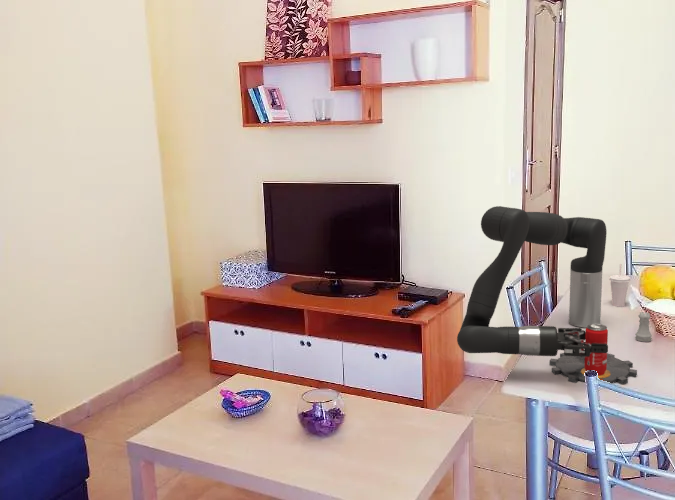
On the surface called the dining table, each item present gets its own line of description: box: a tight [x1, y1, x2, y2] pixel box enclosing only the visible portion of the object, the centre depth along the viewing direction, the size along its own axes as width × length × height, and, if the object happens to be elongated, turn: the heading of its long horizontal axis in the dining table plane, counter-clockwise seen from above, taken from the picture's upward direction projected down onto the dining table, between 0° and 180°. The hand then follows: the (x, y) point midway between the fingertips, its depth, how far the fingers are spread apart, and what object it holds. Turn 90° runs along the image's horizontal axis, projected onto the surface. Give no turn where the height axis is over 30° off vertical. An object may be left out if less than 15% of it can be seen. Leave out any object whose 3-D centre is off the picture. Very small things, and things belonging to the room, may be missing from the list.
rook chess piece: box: [634, 311, 653, 343], centre depth 196 cm, size 4×4×8 cm
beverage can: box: [584, 323, 609, 376], centre depth 171 cm, size 5×5×12 cm
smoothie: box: [609, 263, 631, 308], centre depth 228 cm, size 6×6×14 cm
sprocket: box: [548, 352, 638, 385], centre depth 177 cm, size 21×21×3 cm
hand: (604, 342), depth 170 cm, fingers open, 8 cm apart
